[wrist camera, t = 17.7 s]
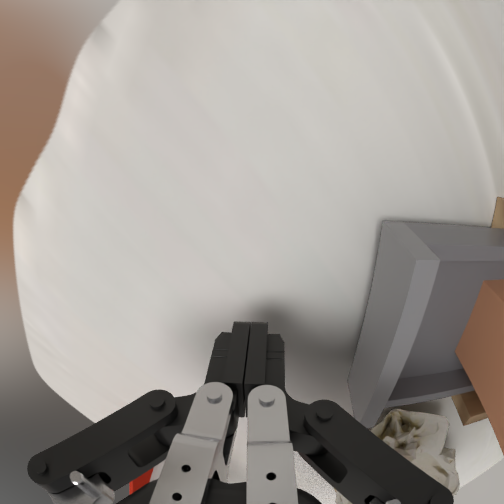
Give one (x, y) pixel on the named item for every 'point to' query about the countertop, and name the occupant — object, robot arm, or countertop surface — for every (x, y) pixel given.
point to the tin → (487, 352)
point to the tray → (420, 313)
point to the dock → (469, 401)
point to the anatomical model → (419, 445)
